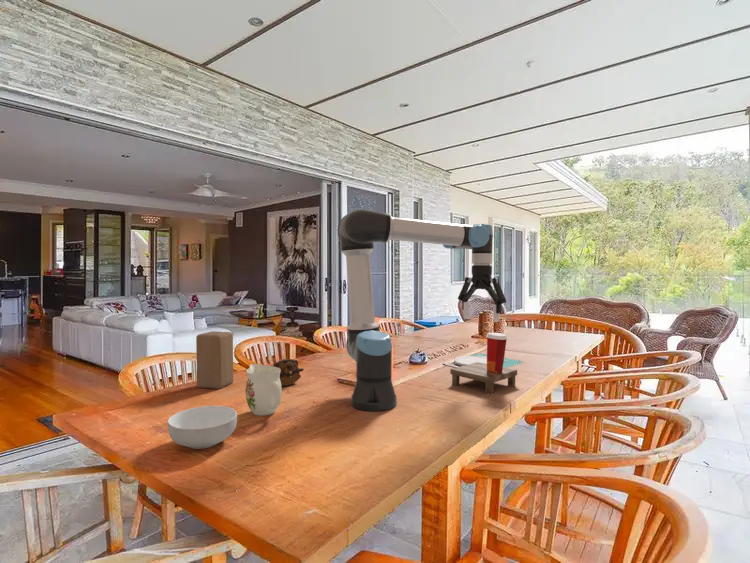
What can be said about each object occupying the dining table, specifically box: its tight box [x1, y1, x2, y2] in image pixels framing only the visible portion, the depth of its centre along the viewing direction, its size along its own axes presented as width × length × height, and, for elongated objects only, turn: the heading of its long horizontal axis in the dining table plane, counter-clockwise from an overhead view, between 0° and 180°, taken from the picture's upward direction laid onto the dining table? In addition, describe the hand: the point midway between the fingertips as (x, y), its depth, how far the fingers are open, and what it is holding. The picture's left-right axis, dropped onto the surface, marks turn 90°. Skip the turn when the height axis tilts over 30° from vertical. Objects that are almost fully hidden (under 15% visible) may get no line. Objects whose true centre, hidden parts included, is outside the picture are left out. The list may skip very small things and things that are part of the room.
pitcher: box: [245, 363, 283, 417], centre depth 136 cm, size 11×18×14 cm, turn 41°
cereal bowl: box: [167, 405, 238, 450], centre depth 113 cm, size 17×17×7 cm
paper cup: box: [485, 332, 508, 373], centre depth 165 cm, size 8×8×14 cm
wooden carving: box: [272, 358, 305, 387], centre depth 167 cm, size 16×5×10 cm, turn 143°
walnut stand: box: [450, 362, 518, 395], centre depth 168 cm, size 18×18×6 cm
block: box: [195, 330, 234, 390], centre depth 167 cm, size 10×10×20 cm
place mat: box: [444, 352, 522, 368], centre depth 205 cm, size 45×30×2 cm
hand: (480, 320), depth 168 cm, fingers open, 13 cm apart
